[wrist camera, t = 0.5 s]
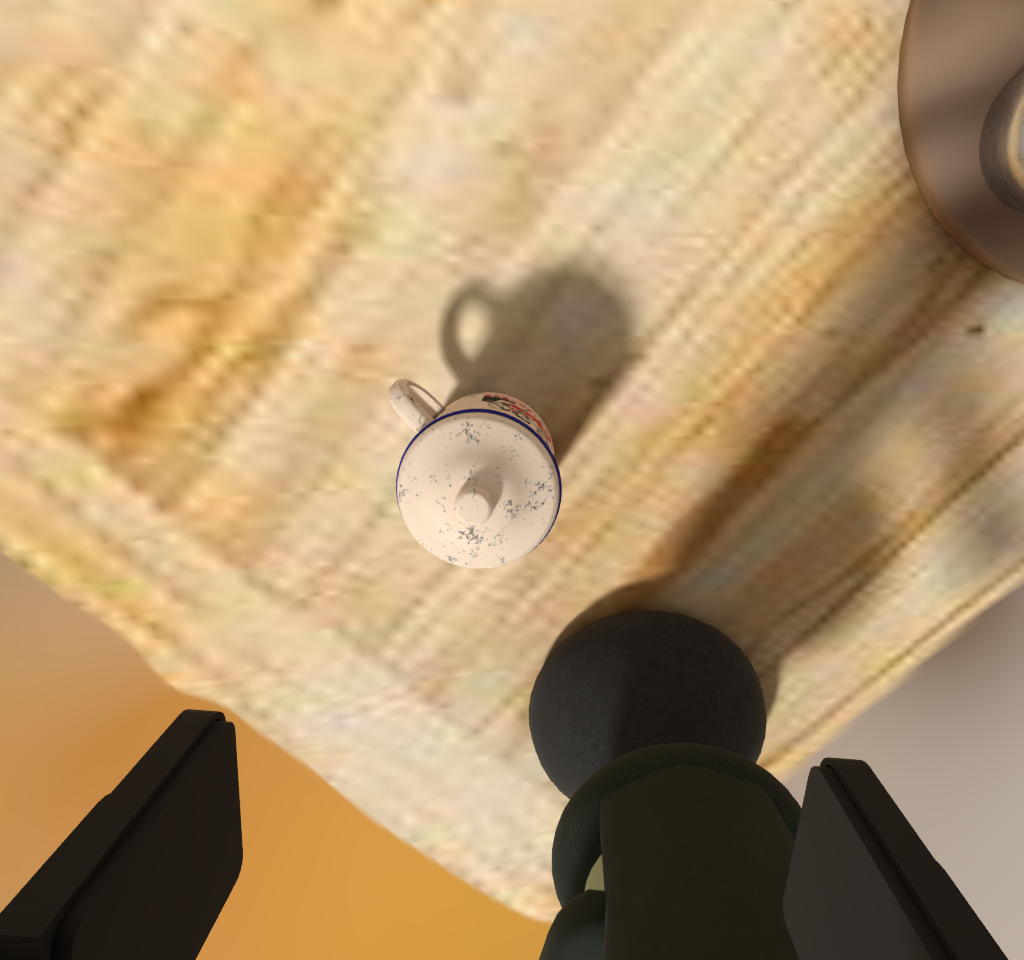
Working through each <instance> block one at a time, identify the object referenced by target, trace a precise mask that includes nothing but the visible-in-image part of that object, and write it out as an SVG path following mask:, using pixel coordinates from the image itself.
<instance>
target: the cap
mask: <svg viewBox="0 0 1024 960" xmlns="http://www.w3.org/2000/svg"><path fill="white" fill-rule="evenodd" d="M979 157H980V165H981V169H982V173H983V176H984V178H985V181H986V183H987V185H988V186H989V188H990V190H991V191H992V193H993V194H994V195H995V196H996V197H997V198H998V199H999V200H1000V201H1001V202H1002V203H1003V204H1005V205H1006V206H1008V207H1010V208H1011V209H1013V210H1016V211H1018V212H1020V213H1024V68H1023V69H1022V70H1020V71H1019V72H1018V73H1017V74H1015V75H1014V76H1013V77H1012V78H1011V79H1010V80H1009V81H1008V82H1007V83H1006V85H1005V86H1004V87H1003V88H1002V90H1001V91H1000V92H999V94H998V95H997V97H996V98H995V100H994V101H993V103H992V105H991V107H990V109H989V111H988V113H987V116H986V118H985V121H984V124H983V128H982V131H981V137H980V144H979Z"/></svg>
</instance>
